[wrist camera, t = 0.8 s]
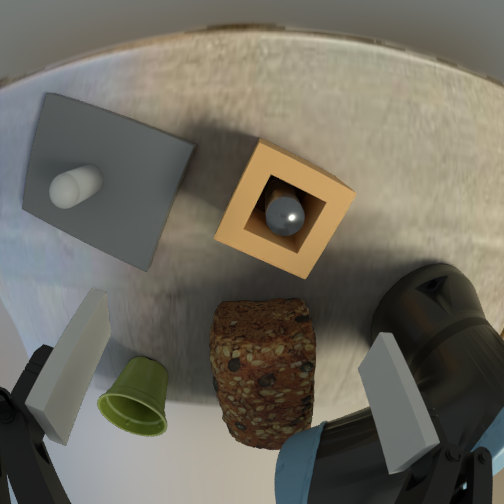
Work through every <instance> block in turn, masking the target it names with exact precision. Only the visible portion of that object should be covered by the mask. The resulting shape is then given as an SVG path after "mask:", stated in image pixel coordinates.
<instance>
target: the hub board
mask: <svg viewBox="0 0 504 504" xmlns="http://www.w3.org/2000/svg"><path fill="white" fill-rule="evenodd" d="M196 147H197V144H194V143H192V142H189V141H187V140H185V139H182V138H180V137H177V136H175V135H172V134H170V133H167V132H165V131H162V130H160V129H157V128H155V127H152V126H149V125H147V124H144V123H142V122H139V121H136V120H134V119H131V118H128V117H125V116H123V115H120V114H117V113H114V112H111V111H109V110H106V109H103V108H100V107H97V106H94V105H91V104H88V103H85V102H82V101H79V100H76V99H72V98H69V97H66V96H63V95H60V94H56V93H47V95H46V98H45V101H44V105H43V108H42V111H41V115H40V118H39V122H38V126H37V130H36V134H35V138H34V142H33V146H32V151H31V156H30V161H29V166H28V171H27V177H26V183H25V190H24V197H23V205H22V209H23V210H25V211H27V212H28V213H30V214H32V215H34V216H36V217H38V218H39V219H41V220H43V221H45V222H47V223H49V224H51V225H52V226H54V227H56V228H58V229H60V230H62V231H64V232H66V233H68V234H70V235H71V236H73V237H75V238H77V239H79V240H81V241H83V242H85V243H87V244H89V245H91V246H93V247H95V248H97V249H99V250H101V251H103V252H105V253H107V254H109V255H111V256H113V257H116V258H118V259H120V260H122V261H124V262H126V263H128V264H130V265H132V266H134V267H137V268H139V269H141V270H143V271H145V272H147V270H148V269H149V267H150V266H151V263H152V260H153V257H154V254H155V251H156V249H157V246H158V243H159V240H160V237H161V234H162V232H163V229H164V226H165V223H166V221H167V218H168V215H169V213H170V210H171V207H172V205H173V202H174V200H175V197H176V195H177V192H178V190H179V187H180V185H181V182H182V180H183V177H184V175H185V172H186V170H187V168H188V165H189V163H190V160H191V158H192V156H193V153H194V151H195V149H196Z"/></svg>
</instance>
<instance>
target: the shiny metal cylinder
mask: <svg viewBox="0 0 504 504" xmlns="http://www.w3.org/2000/svg"><path fill="white" fill-rule="evenodd" d="M265 210H266V222H267V225H268V227H269V228H270V230H271V231H272V232H274V233H276V234H278V235H281V236H289V235H292V234H294V233H296V232H298V231H299V230H300V229H301V227H302V226H303V223H304V219H305V215H304V211H303V208H302V206H301V204H300V202H299V200H298V198H297V195H296V193H295V191H294V189H293V187H292V185H291V184H290V183H288V182H286V181H284V180H282V179H277V180H274V181H272V182H270V183H269V184H268V185H267V187H266V189H265Z"/></svg>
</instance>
